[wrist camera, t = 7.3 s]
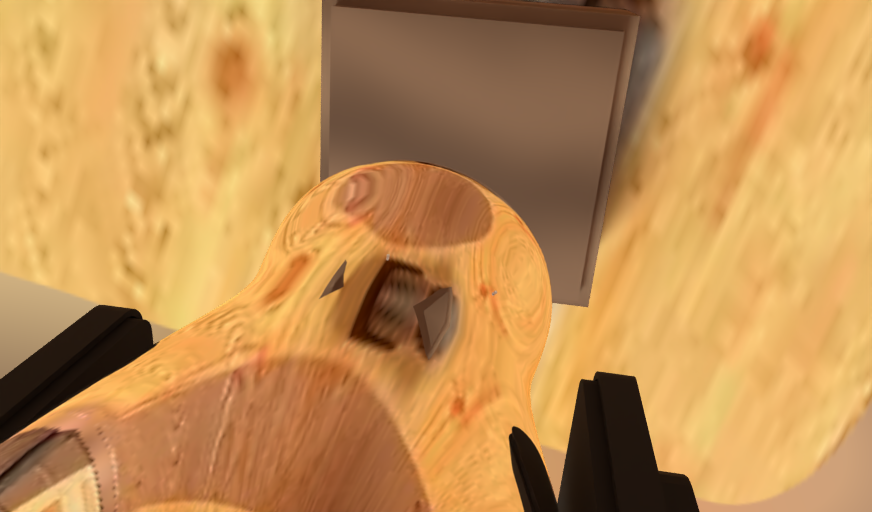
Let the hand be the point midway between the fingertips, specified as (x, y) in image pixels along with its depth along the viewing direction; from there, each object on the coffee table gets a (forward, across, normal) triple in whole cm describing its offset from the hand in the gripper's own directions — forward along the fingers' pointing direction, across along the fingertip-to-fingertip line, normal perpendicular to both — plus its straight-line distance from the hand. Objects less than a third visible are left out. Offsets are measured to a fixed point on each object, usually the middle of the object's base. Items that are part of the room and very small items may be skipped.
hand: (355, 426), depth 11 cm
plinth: (+21, 0, 0) cm, 21 cm away
